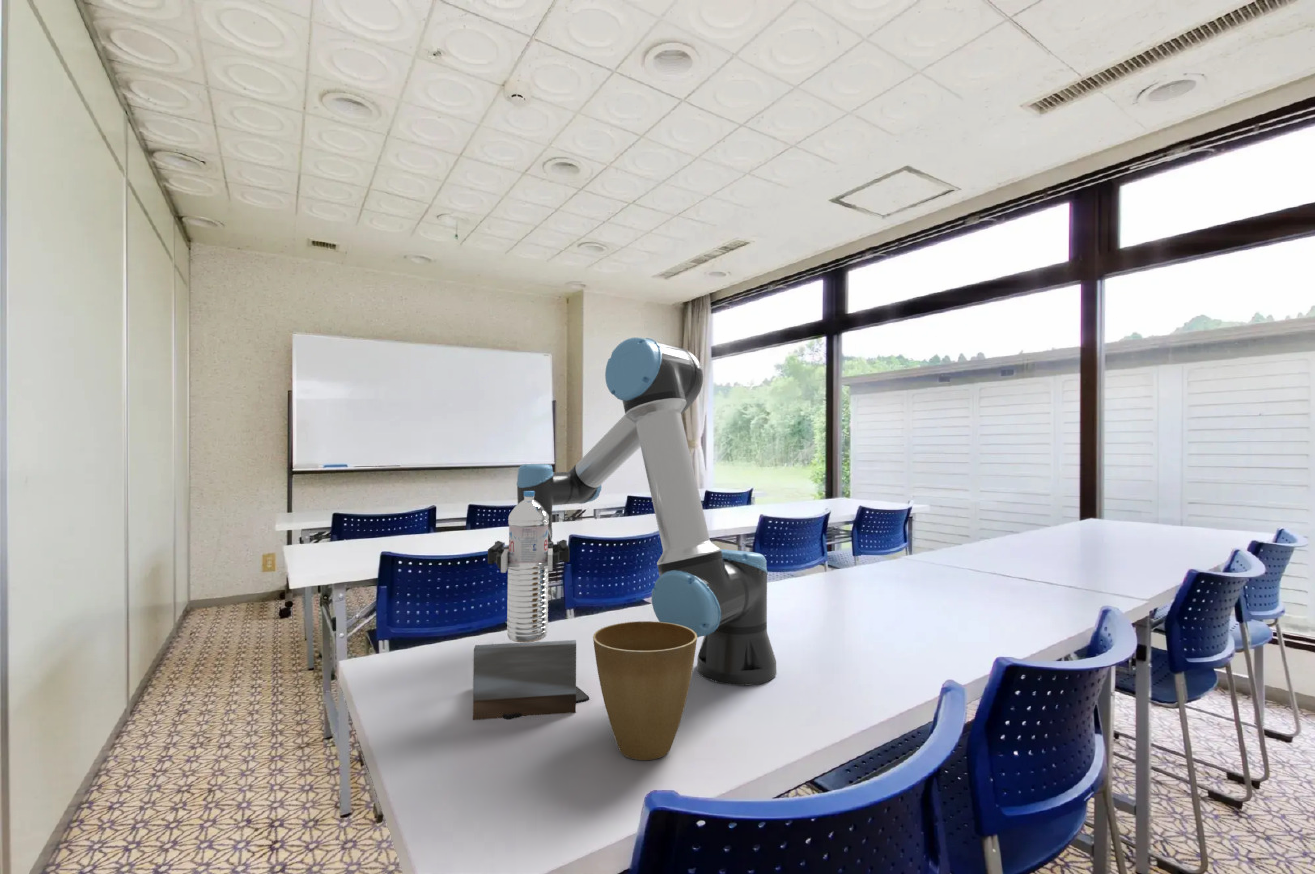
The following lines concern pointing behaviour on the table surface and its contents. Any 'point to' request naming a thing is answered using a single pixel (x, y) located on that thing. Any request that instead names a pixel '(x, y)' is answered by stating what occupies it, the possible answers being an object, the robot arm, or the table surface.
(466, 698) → the table surface
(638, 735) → the plant pot
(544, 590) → the water bottle
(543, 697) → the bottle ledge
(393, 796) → the table surface
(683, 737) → the table surface
